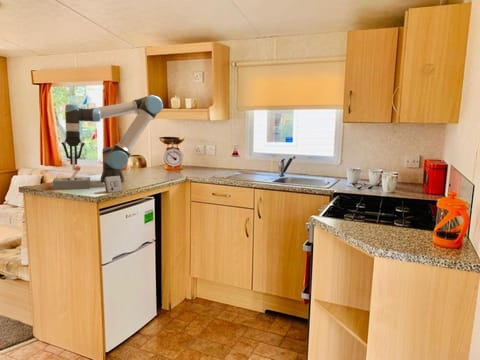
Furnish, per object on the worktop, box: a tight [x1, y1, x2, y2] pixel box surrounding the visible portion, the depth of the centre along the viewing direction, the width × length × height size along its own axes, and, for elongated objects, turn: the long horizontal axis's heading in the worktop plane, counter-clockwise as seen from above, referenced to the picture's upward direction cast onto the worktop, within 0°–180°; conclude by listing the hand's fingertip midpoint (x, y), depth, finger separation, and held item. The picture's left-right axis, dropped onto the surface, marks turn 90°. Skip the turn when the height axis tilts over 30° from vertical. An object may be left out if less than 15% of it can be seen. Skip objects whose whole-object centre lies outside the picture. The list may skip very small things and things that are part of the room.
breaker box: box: [52, 176, 91, 191], centre depth 221 cm, size 20×13×5 cm, turn 112°
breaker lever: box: [69, 165, 82, 180], centre depth 220 cm, size 3×6×10 cm, turn 22°
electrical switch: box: [104, 176, 123, 194], centre depth 211 cm, size 9×5×9 cm, turn 141°
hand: (73, 169), depth 221 cm, fingers closed
